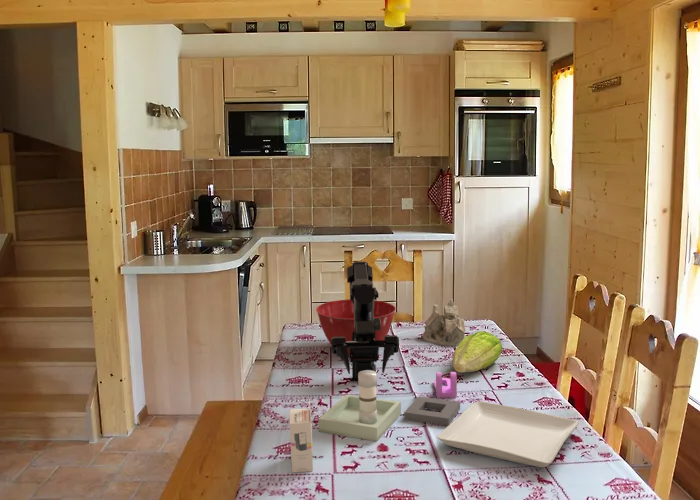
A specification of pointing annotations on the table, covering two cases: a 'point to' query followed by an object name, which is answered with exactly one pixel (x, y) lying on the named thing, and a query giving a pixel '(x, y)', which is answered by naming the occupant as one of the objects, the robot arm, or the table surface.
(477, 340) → the lettuce
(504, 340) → the table surface
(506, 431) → the square plate
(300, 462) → the ink box
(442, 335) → the ceramic cottage
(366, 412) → the cream salt shaker
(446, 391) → the bracket
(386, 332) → the mixing bowl
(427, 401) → the fuse holder
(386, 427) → the tray
